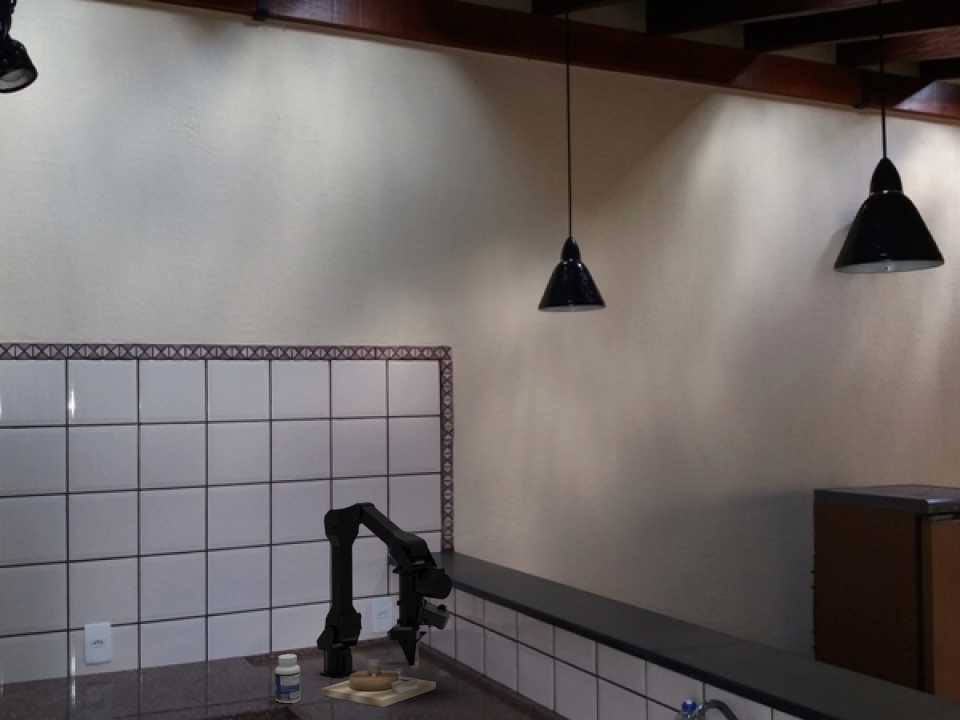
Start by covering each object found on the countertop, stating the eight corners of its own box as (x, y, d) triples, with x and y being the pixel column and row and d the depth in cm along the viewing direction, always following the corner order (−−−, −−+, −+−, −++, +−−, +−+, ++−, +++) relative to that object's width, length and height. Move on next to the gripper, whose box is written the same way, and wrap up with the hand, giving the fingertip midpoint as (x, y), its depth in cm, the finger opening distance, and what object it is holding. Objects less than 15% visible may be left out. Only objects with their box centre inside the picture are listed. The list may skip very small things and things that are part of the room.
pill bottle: (276, 698, 234) (276, 653, 234) (301, 697, 234) (301, 652, 235) (274, 705, 228) (273, 659, 229) (299, 704, 229) (298, 658, 229)
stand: (322, 695, 236) (322, 678, 236) (376, 678, 250) (375, 662, 250) (383, 707, 225) (382, 689, 225) (435, 688, 240) (435, 672, 240)
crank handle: (350, 679, 243) (350, 649, 243) (418, 676, 244) (418, 647, 244) (348, 691, 232) (348, 660, 232) (419, 688, 233) (419, 657, 233)
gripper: (438, 602, 228) (438, 676, 227) (454, 589, 246) (455, 657, 245) (387, 601, 229) (388, 674, 228) (407, 588, 248) (408, 656, 247)
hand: (412, 665), depth 237 cm, fingers closed
